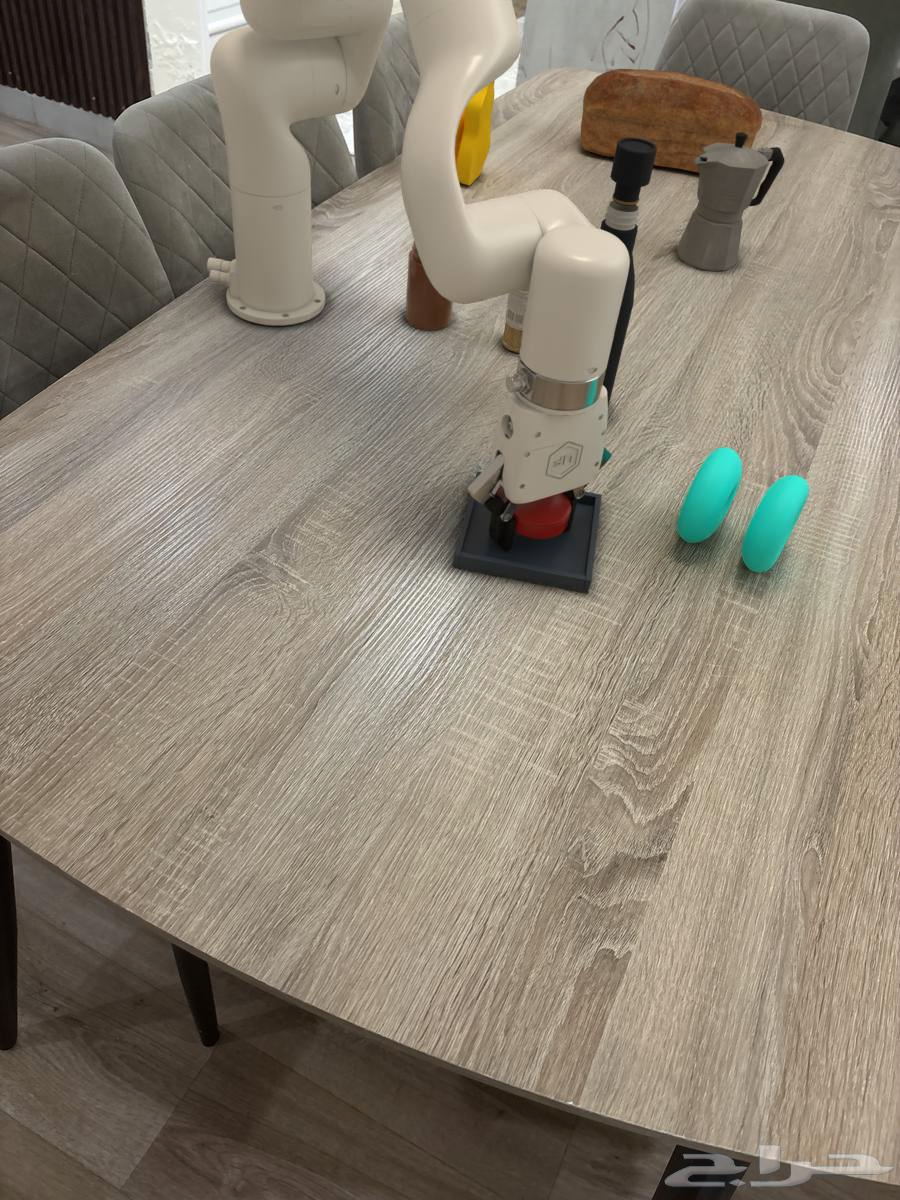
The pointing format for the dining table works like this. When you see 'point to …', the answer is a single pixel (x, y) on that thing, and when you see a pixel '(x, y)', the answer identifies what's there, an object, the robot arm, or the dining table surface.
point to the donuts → (715, 498)
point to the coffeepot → (725, 201)
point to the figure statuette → (474, 135)
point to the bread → (665, 114)
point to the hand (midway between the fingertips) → (530, 531)
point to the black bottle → (626, 228)
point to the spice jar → (515, 319)
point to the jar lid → (543, 516)
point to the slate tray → (532, 548)
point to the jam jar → (424, 298)
